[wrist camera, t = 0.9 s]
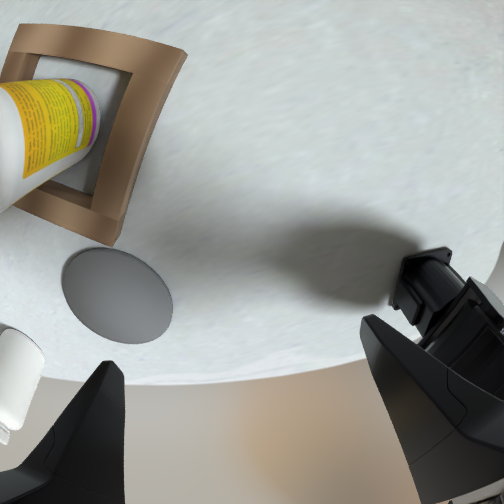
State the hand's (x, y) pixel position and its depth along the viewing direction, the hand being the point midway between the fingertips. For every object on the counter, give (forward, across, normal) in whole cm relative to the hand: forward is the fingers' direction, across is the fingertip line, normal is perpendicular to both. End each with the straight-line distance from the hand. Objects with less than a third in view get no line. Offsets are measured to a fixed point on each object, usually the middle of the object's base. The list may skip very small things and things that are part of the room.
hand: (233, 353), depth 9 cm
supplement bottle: (+13, +10, -9) cm, 19 cm away
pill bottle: (+14, +32, +12) cm, 37 cm away
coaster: (+13, +12, +7) cm, 19 cm away
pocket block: (+13, +10, -9) cm, 19 cm away
